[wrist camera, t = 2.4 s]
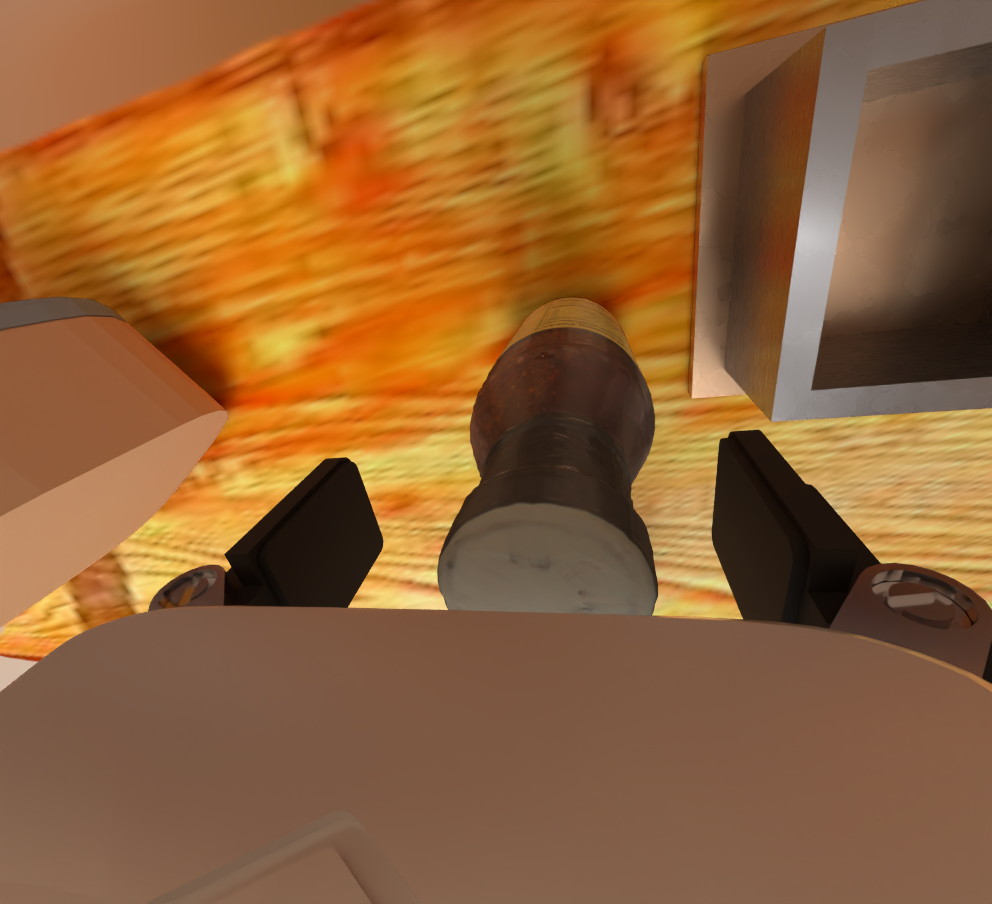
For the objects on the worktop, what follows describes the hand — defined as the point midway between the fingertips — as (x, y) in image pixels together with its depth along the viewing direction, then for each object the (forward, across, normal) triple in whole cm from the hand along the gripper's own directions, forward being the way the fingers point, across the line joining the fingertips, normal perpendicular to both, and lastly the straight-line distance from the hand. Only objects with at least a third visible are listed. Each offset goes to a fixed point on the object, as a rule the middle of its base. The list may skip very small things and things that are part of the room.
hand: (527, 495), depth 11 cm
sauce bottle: (+16, -1, 0) cm, 16 cm away
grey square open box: (+16, -15, -4) cm, 22 cm away
